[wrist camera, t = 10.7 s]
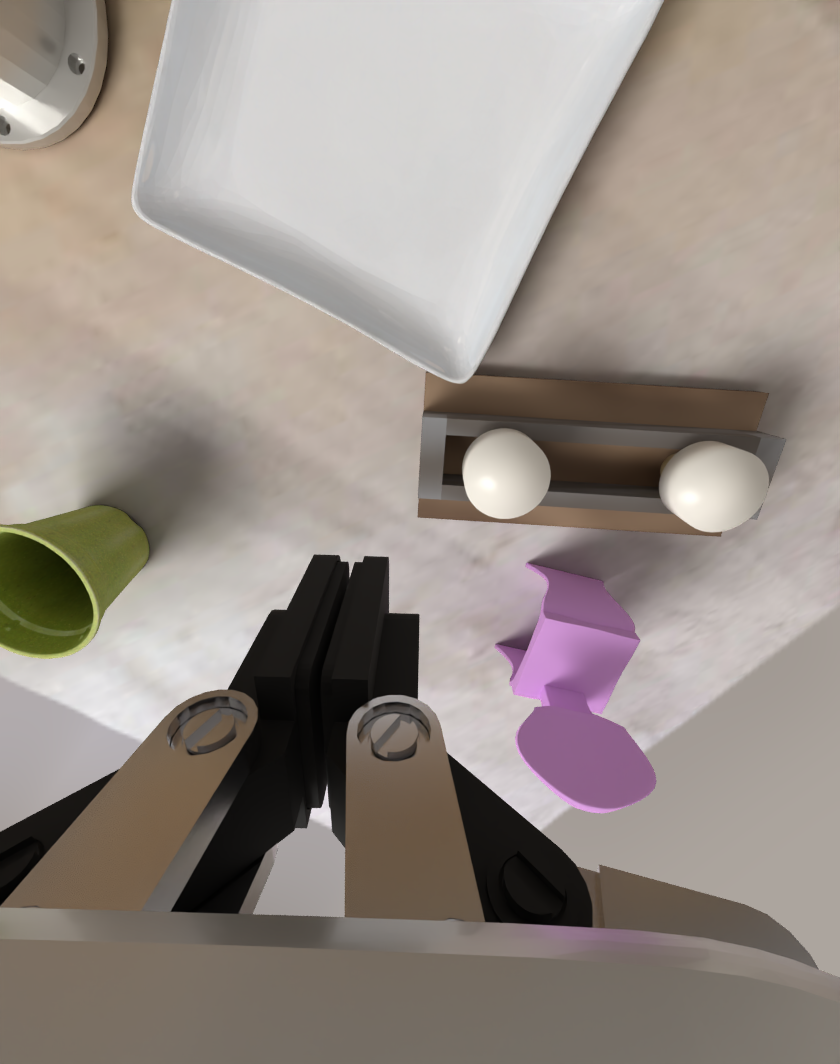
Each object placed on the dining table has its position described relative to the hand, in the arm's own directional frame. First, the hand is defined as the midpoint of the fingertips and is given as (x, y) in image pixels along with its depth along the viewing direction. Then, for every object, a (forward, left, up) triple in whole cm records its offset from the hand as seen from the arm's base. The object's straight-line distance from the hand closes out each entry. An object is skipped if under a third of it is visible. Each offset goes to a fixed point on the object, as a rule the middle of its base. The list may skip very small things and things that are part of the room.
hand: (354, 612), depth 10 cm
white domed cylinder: (+1, +18, -21) cm, 28 cm away
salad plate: (-17, -2, -24) cm, 29 cm away
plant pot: (+10, -23, -23) cm, 34 cm away
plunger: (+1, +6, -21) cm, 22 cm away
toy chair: (+14, +12, -23) cm, 30 cm away
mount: (+1, +12, -23) cm, 26 cm away
